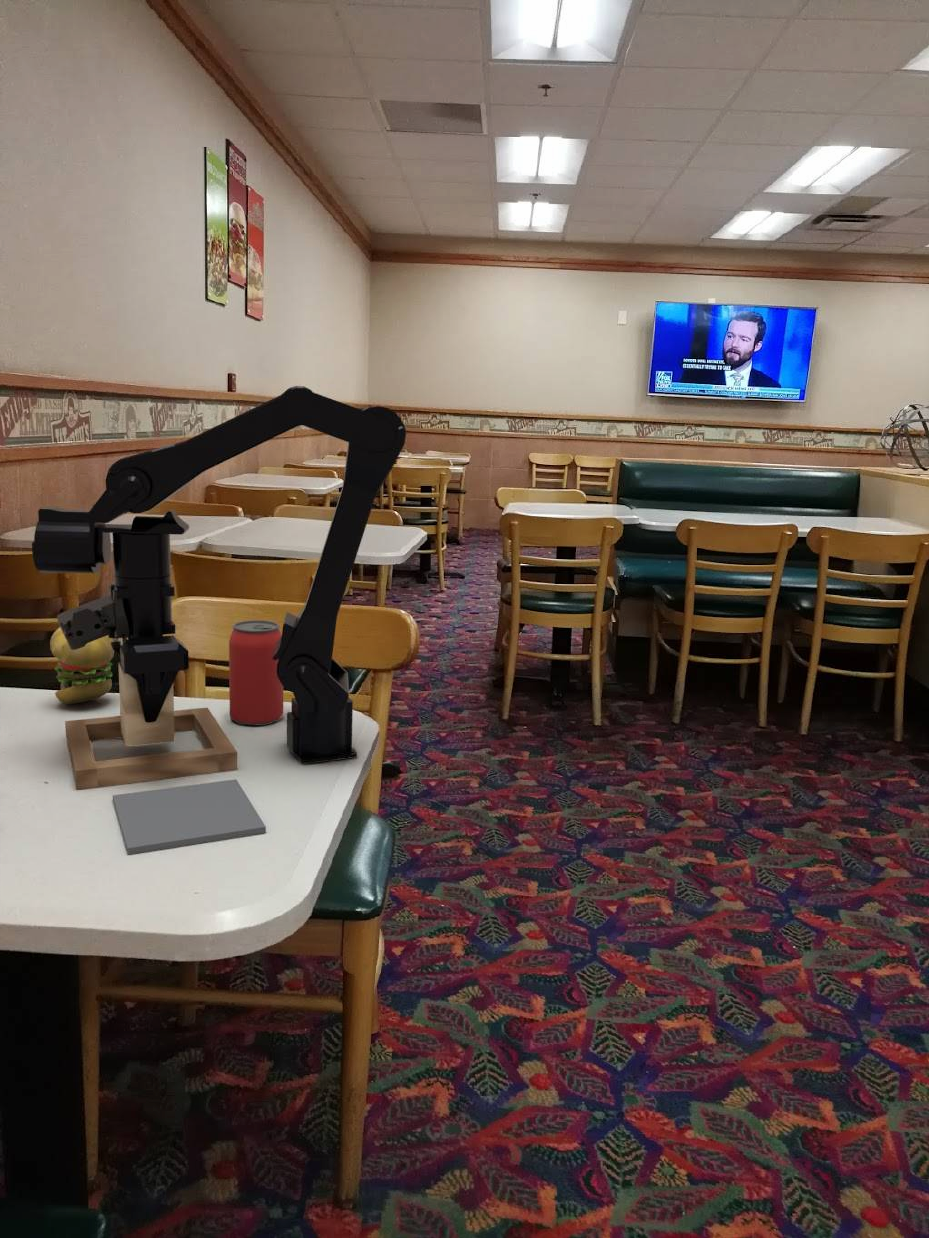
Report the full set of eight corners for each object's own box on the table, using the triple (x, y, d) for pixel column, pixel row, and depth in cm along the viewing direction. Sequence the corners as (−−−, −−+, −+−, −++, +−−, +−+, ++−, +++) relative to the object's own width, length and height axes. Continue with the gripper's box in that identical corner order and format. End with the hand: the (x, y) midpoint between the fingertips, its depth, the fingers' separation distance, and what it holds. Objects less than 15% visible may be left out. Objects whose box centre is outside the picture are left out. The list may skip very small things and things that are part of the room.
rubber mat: (236, 784, 96) (236, 779, 96) (265, 832, 85) (265, 826, 85) (112, 801, 90) (112, 795, 90) (127, 854, 80) (127, 848, 80)
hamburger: (98, 692, 124) (94, 604, 121) (128, 704, 119) (125, 613, 116) (41, 704, 118) (36, 612, 115) (71, 717, 113) (66, 622, 111)
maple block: (167, 726, 106) (165, 659, 104) (174, 741, 102) (172, 670, 100) (120, 731, 104) (118, 662, 102) (126, 746, 99) (123, 674, 98)
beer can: (270, 729, 112) (270, 633, 110) (220, 723, 114) (219, 628, 111) (291, 713, 119) (291, 621, 116) (243, 707, 120) (242, 617, 117)
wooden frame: (207, 723, 114) (207, 707, 113) (237, 769, 100) (237, 751, 99) (66, 737, 107) (65, 721, 106) (76, 789, 93) (75, 771, 92)
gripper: (55, 562, 103) (62, 696, 107) (66, 594, 87) (73, 751, 90) (159, 559, 108) (162, 688, 112) (188, 589, 92) (191, 738, 95)
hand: (147, 714), depth 102 cm, fingers closed on maple block, 5 cm apart
